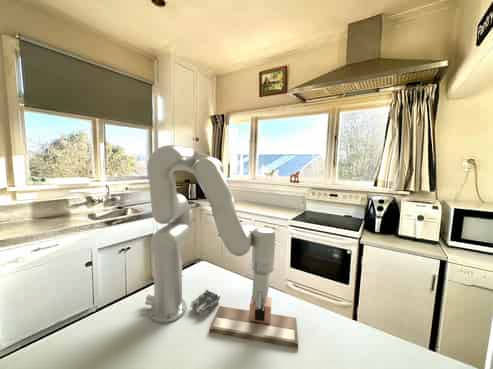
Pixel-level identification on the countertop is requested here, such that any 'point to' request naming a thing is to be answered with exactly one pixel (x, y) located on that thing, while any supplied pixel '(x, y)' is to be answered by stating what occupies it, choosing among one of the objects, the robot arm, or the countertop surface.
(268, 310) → the peach rectangular block
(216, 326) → the board
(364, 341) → the countertop surface
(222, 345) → the countertop surface
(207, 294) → the egg carton
